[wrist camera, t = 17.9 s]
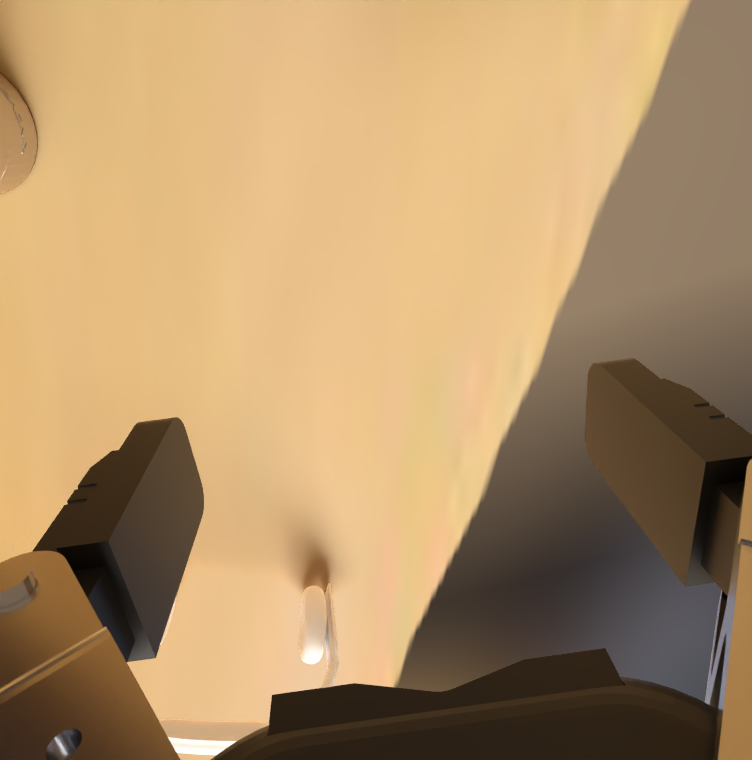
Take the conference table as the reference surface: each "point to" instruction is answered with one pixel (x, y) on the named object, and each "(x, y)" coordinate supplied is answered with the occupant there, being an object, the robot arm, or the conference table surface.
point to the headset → (222, 734)
